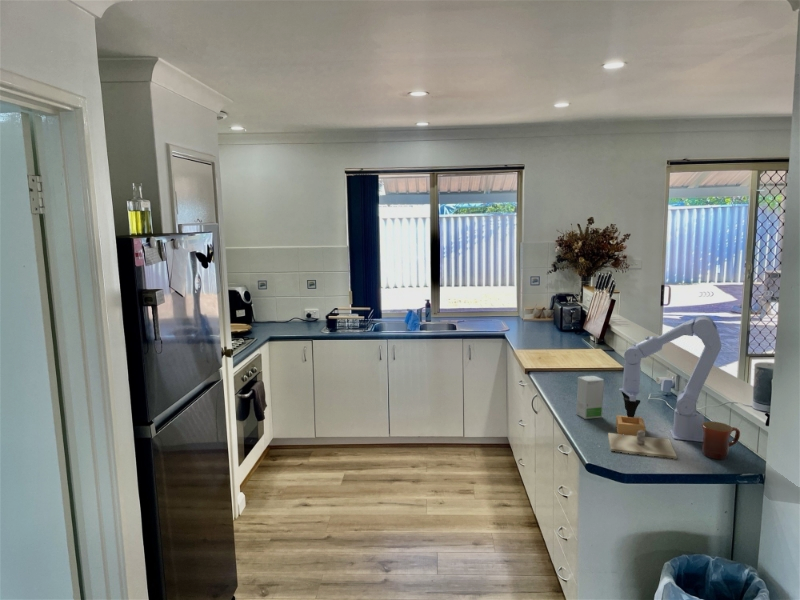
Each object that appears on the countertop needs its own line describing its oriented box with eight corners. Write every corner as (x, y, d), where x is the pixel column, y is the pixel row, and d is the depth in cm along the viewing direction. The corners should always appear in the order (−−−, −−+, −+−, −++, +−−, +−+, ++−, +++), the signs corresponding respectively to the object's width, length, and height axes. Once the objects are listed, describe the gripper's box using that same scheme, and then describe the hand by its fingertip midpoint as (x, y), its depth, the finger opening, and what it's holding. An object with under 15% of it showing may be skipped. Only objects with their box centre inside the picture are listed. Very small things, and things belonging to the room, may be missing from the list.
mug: (709, 462, 170) (712, 431, 168) (693, 450, 178) (696, 421, 177) (746, 461, 170) (748, 431, 169) (728, 449, 179) (731, 420, 177)
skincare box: (584, 419, 207) (586, 381, 204) (574, 413, 213) (576, 376, 211) (603, 417, 209) (605, 379, 207) (592, 411, 215) (594, 374, 213)
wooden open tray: (641, 427, 198) (642, 417, 198) (644, 436, 190) (645, 426, 189) (615, 424, 201) (616, 414, 200) (617, 434, 192) (618, 423, 192)
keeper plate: (668, 442, 185) (670, 426, 184) (676, 459, 172) (677, 442, 171) (608, 435, 191) (608, 420, 190) (610, 451, 178) (611, 435, 177)
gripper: (618, 372, 204) (616, 405, 206) (621, 383, 190) (619, 419, 192) (638, 373, 202) (636, 407, 204) (643, 385, 188) (640, 421, 190)
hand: (629, 413), depth 198 cm, fingers open, 7 cm apart
